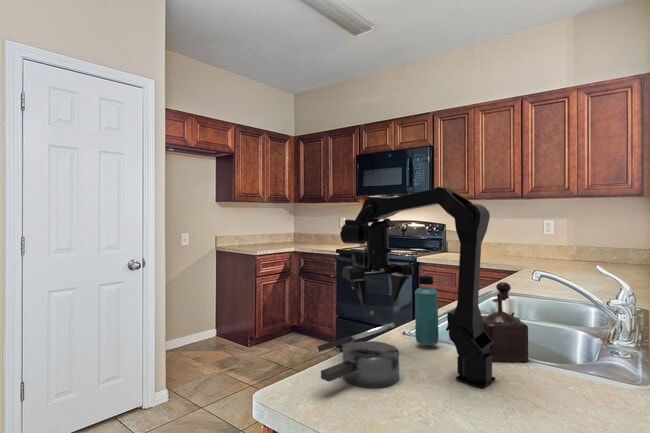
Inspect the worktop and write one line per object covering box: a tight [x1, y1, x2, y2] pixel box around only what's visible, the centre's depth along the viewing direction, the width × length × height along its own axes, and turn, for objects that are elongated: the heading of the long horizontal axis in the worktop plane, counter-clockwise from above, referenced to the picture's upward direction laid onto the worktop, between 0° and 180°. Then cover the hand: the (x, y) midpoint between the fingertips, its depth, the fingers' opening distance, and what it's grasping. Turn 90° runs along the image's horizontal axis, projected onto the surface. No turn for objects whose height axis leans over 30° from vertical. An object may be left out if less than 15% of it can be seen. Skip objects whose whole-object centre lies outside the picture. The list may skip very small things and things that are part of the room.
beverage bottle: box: [414, 275, 440, 346], centre depth 111 cm, size 6×7×20 cm
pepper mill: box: [482, 281, 530, 364], centre depth 106 cm, size 16×11×18 cm
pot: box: [320, 340, 400, 389], centre depth 88 cm, size 14×21×6 cm, turn 133°
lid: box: [317, 322, 396, 353], centre depth 89 cm, size 13×21×1 cm, turn 133°
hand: (378, 303), depth 104 cm, fingers open, 9 cm apart
